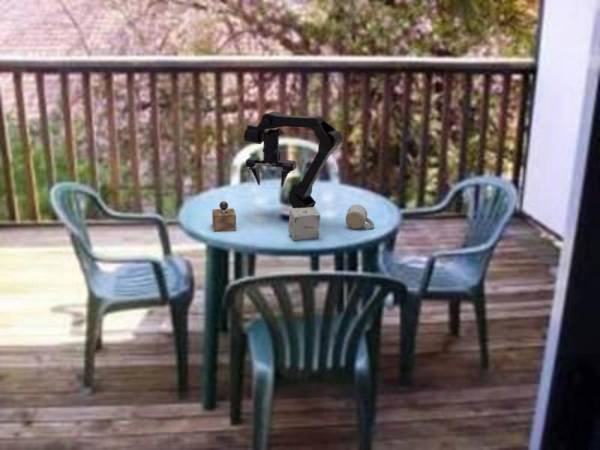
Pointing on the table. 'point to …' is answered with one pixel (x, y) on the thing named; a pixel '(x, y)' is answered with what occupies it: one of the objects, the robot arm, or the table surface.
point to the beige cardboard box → (304, 223)
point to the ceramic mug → (358, 217)
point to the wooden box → (224, 220)
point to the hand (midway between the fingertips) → (270, 185)
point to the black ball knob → (223, 206)
